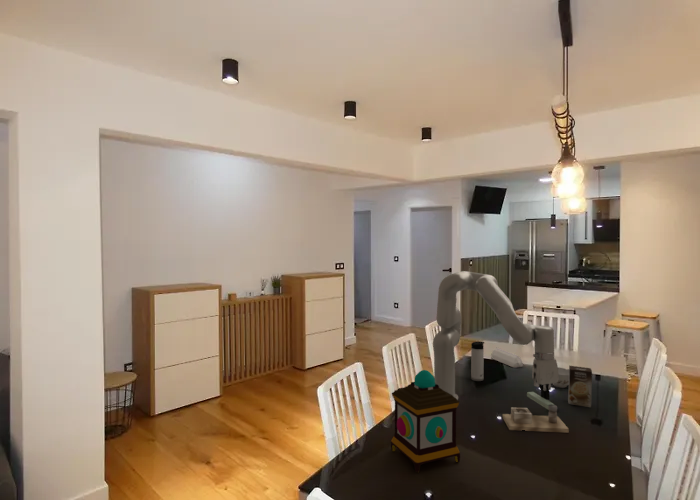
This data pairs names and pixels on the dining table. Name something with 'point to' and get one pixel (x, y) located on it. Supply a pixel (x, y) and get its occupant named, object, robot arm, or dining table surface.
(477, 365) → the travel mug
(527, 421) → the collar
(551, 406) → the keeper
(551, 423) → the pintle board
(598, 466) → the dining table surface
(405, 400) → the decorative lantern
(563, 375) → the teacup
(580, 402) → the coffee box
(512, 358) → the crystal
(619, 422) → the dining table surface
